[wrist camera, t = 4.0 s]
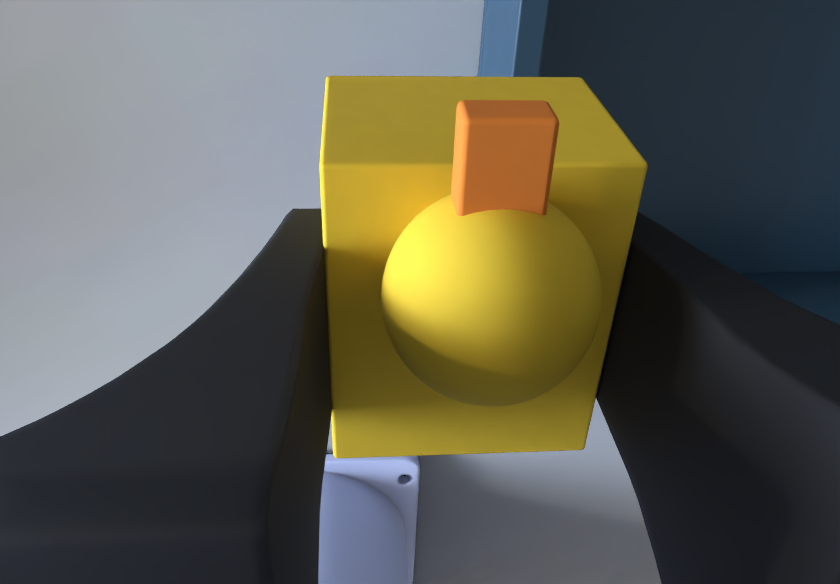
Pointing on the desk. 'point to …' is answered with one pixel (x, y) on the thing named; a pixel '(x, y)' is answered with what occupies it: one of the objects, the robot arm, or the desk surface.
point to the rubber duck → (470, 260)
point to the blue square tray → (709, 119)
